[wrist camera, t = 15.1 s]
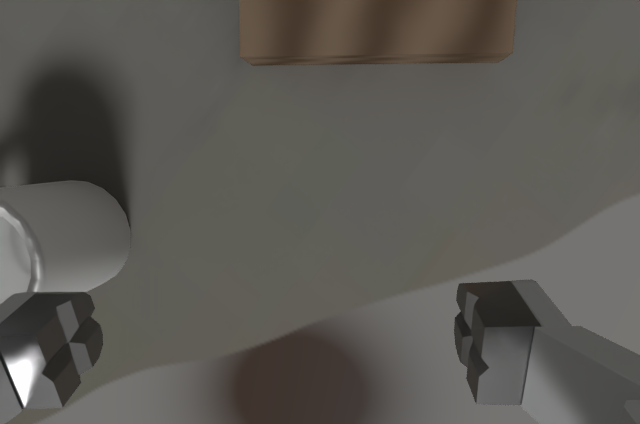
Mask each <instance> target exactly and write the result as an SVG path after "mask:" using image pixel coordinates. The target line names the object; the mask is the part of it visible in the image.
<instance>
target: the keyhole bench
mask: <svg viewBox="0 0 640 424" xmlns="http://www.w3.org/2000/svg"><path fill="white" fill-rule="evenodd" d="M516 4H517V0H239V24H240V57H241V58H243V59H244V60H245V61H247V62H248V63H250V64H251V65H327V64H411V63H495V62H500V61H502V60H503V59H504V58H506V57H507V56H509V55H510V54H512V53H513V45H514V31H515V17H516Z"/></svg>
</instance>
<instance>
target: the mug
mask: <svg viewBox="0 0 640 424" xmlns="http://www.w3.org/2000/svg"><path fill="white" fill-rule="evenodd" d="M130 248H131V230H130V227H129V223H128V220H127V217H126V214H125V212H124V211H123V209H122V208H121V206H120V205H119V203H118V202H117V200H116V199H115V198H114V197H113V196H112V195H110V194H109V193H108V192H107V191H106V190H104V189H103V188H101V187H99V186H97V185H94V184H92V183H90V182H87V181H75V180H68V181H58V182H49V183H39V184H29V185H20V186H10V187H0V304H1V303H3V302H4V301H5V300H6V299H8V298H9V297H10V296H11V295H13V294H16V293H21V292H87V291H89V290H91V289H93V288H95V287H97V286H99V285H101V284H103V283H105V282H106V281H108V280H109V279H111V278H112V277H114V276H116V275H117V273H118V272H119V271H120V270H121V268H122V267H123V266H124V264H125V263H126V260H127V257H128V254H129V251H130Z"/></svg>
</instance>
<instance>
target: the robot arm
mask: <svg viewBox="0 0 640 424" xmlns="http://www.w3.org/2000/svg"><path fill="white" fill-rule="evenodd" d="M456 301H457V303H458V306H459V308H460V310H461V312H460V313H459V314H458V315H457V316H456V317H455V327H454V334H455V345H456V349H457V354H458V357H459V359H460V362H461V363H462V364H463V365H465V366H466V367H467V381H468V384H469V386H470V389H471V392H472V394H473V397H474V399H475V402H476V404H490V405H491V404H492V405H521V407H522V408H523V409H524V410H525V411H526V412H527V413H528V414H530V415H531V416H532V417H533V418H534V419H535V420H536V421H537V422H539V423H540V424H640V355H638V354H636V353H634V352H632V351H630V350H628V349H626V348H624V347H622V346H620V345H618V344H616V343H614V342H612V341H610V340H608V339H606V338H603V337H602V336H599V335H597V334H595V333H593V332H591V331H589V330H587V329H585V328H583V327H581V326H571V324H570V323H569V322H568V320H567V319H566V318H565V317H564V315H563V314H562V313H561V312H560V310H559V309H558V308H557V307H556V305H555V304H554V303H553V302H552V301H551V299H550V298H549V297H548V296H547V294H546V293H545V292H544V291H543V289H542V288H541V287H540V286H539V284H538V283H537V282H536V281H534V280H517V281H502V282H480V283H461V284H459V286H458V290H457V300H456ZM94 309H95V307H94V304H93V301H92V299H91V296H90V295H88V294H87V293H85V292H21V293H16V294H13V295H11V296H10V297H9V298H8V299H6V300H5V301H4V302H3V303H1V304H0V424H5V423H7V422H8V421H9V420H11V419H12V418H13V417H15V416H16V415H18V414H19V413H20V412H22V409H37V408H63V406H64V405H65V404H66V402H67V401H68V400H69V398H70V397H71V396H72V394H73V393H74V392H75V390H76V389H77V388H78V386H79V385H80V384H81V380H80V375H81V374H82V373H84V372H86V371H87V370H89V369H91V368H92V367H93V366H94V364H95V363H96V361H97V360H98V358H99V356H100V353H101V350H102V346H103V334H102V330H101V327H100V324H99V323H97V322H96V321H95V320H94V319H93V318H92V317H91V315H92V313H93V311H94Z"/></svg>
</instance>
